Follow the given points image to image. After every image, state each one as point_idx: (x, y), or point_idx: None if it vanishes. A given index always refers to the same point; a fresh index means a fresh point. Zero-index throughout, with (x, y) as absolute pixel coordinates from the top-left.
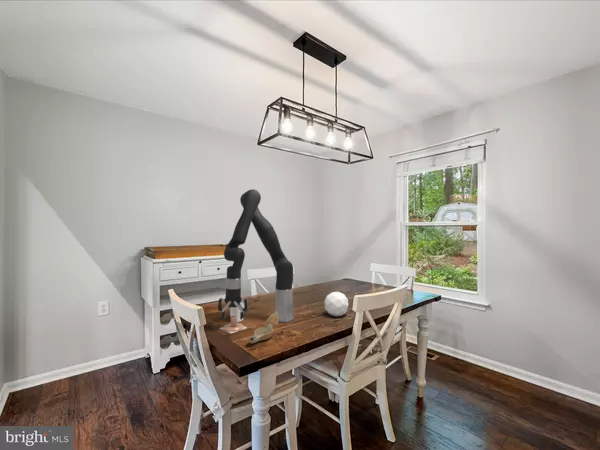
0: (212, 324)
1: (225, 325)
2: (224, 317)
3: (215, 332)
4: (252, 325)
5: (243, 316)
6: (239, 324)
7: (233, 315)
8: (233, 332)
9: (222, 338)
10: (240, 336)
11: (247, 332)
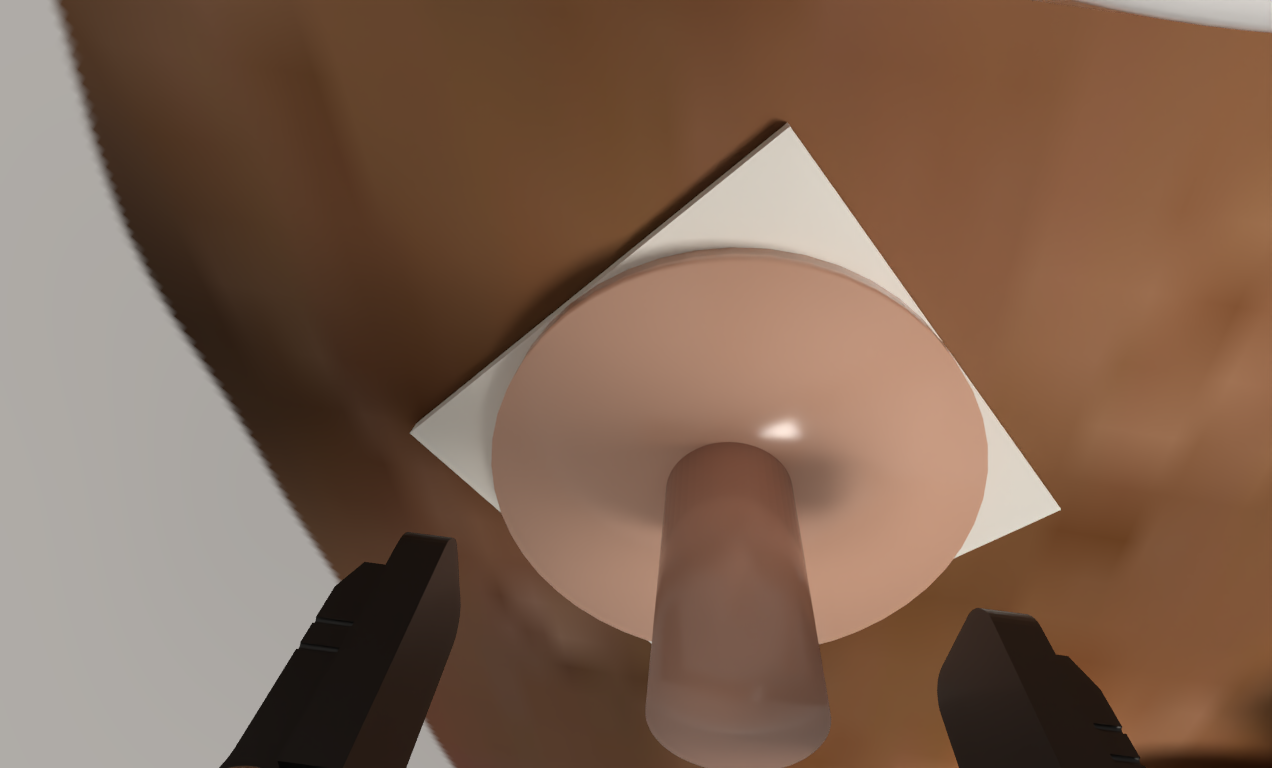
0: (116, 64)
1: (525, 401)
2: (438, 669)
3: None
4: (1255, 327)
5: (1095, 705)
6: (890, 398)
7: None
8: None
9: (571, 745)
10: (838, 746)
11: None
